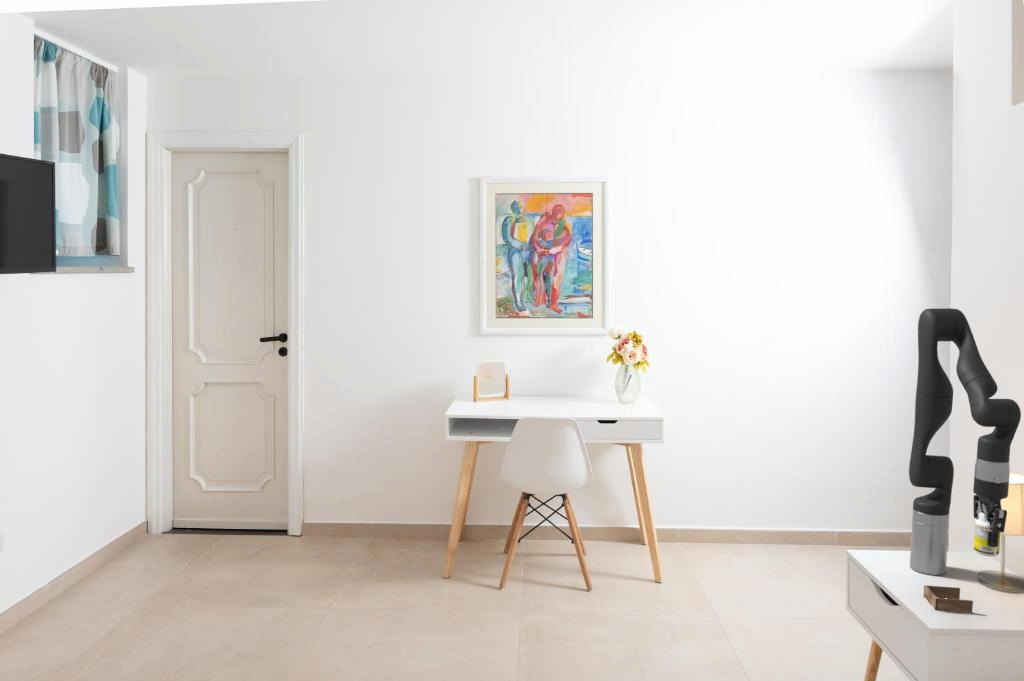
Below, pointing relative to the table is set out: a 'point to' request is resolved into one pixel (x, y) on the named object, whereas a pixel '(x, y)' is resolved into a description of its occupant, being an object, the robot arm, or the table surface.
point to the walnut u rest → (952, 599)
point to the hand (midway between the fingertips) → (987, 541)
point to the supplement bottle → (984, 538)
